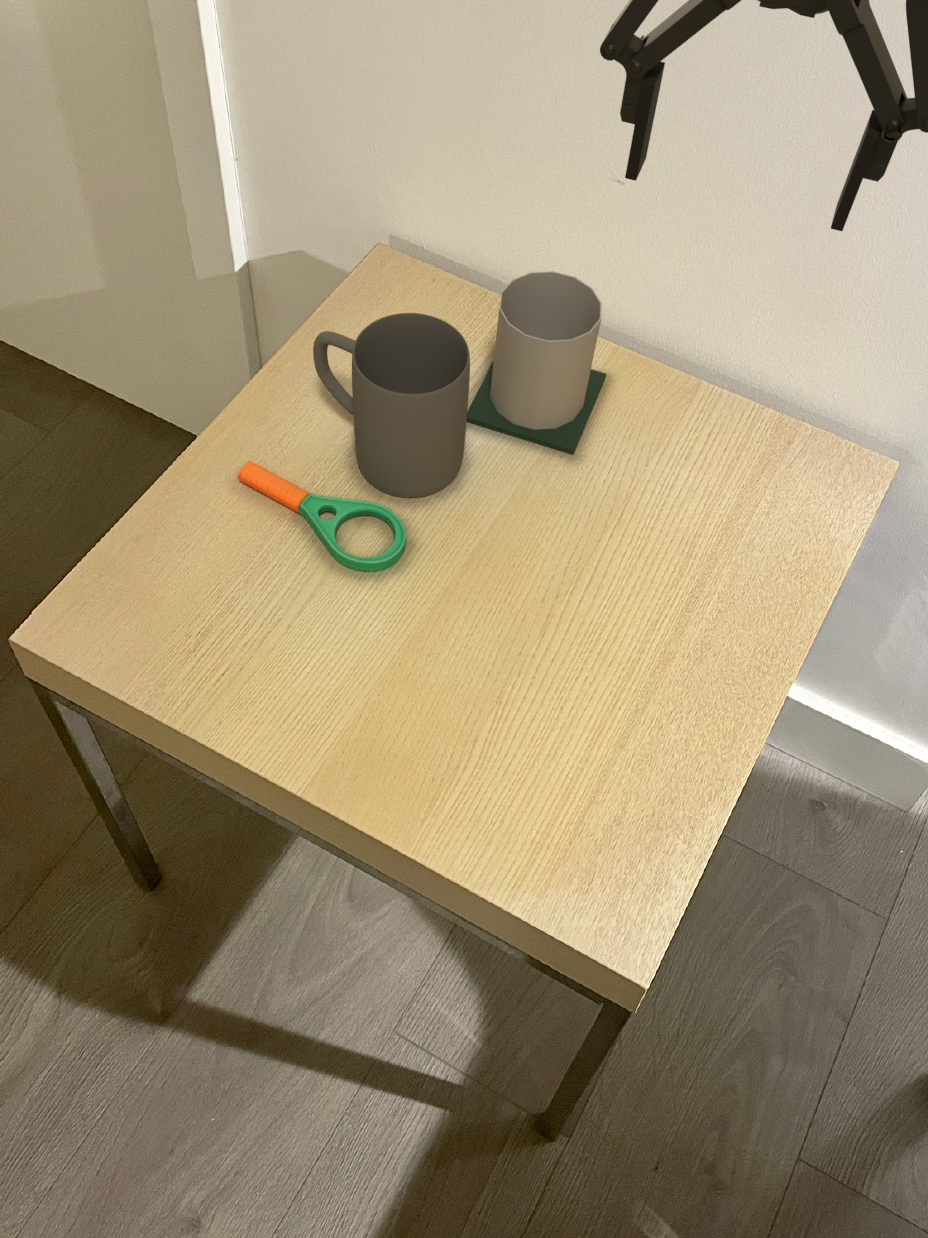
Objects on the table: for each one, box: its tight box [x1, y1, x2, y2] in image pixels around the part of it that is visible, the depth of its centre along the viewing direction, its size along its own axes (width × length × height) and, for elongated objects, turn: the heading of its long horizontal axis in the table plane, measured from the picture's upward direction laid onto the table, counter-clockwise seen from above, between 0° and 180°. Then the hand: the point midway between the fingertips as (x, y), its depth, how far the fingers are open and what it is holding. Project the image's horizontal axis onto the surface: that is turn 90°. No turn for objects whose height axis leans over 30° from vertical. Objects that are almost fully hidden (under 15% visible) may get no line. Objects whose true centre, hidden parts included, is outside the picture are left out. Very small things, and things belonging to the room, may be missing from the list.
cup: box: [490, 271, 603, 430], centre depth 91 cm, size 8×8×10 cm
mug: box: [312, 312, 471, 499], centre depth 86 cm, size 14×9×12 cm
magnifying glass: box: [237, 460, 407, 573], centre depth 86 cm, size 15×6×2 cm, turn 59°
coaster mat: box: [466, 359, 607, 456], centre depth 95 cm, size 10×10×1 cm
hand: (735, 193), depth 70 cm, fingers open, 13 cm apart
